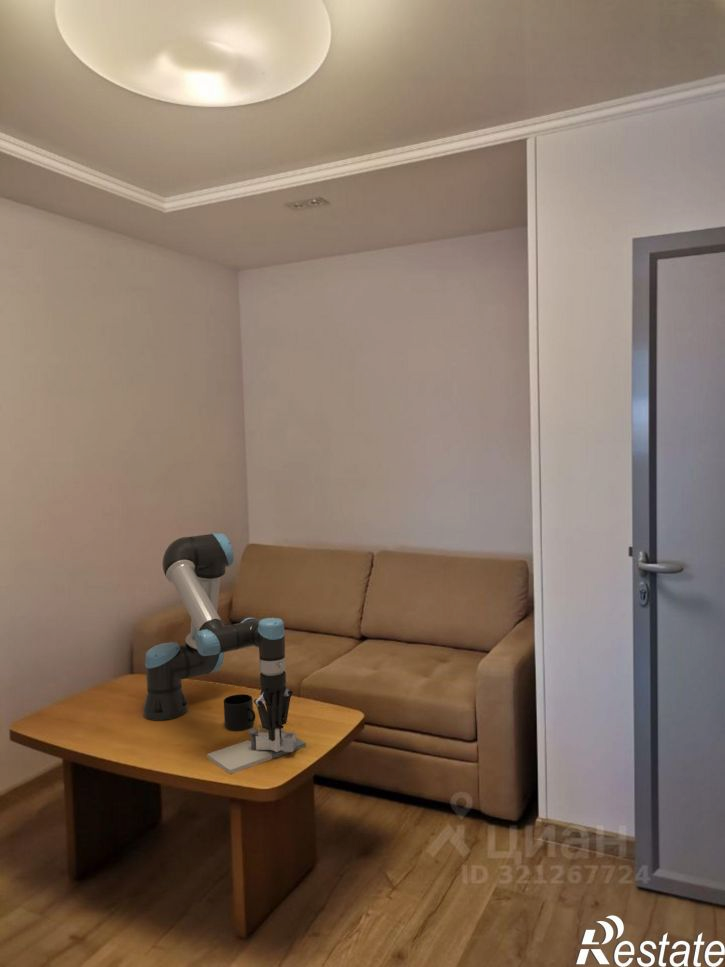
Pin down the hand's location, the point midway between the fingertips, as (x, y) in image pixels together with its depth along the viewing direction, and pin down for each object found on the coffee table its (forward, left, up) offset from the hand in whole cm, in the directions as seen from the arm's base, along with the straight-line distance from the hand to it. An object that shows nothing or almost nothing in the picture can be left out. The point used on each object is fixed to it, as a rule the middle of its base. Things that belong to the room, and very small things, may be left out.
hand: (275, 749), depth 217 cm
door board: (-8, -2, -3) cm, 8 cm away
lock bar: (-2, +2, -1) cm, 3 cm away
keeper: (-11, +3, -1) cm, 12 cm away
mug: (-28, +4, -3) cm, 28 cm away
